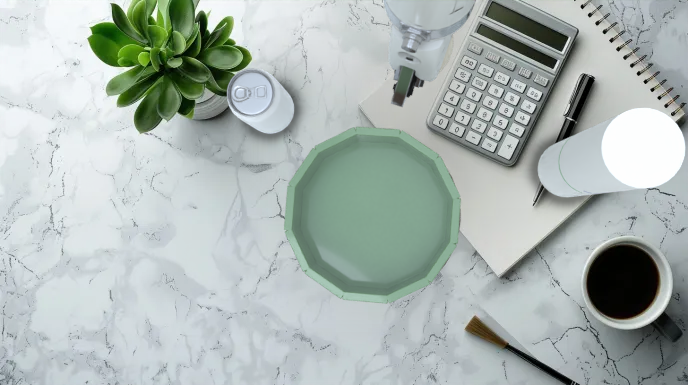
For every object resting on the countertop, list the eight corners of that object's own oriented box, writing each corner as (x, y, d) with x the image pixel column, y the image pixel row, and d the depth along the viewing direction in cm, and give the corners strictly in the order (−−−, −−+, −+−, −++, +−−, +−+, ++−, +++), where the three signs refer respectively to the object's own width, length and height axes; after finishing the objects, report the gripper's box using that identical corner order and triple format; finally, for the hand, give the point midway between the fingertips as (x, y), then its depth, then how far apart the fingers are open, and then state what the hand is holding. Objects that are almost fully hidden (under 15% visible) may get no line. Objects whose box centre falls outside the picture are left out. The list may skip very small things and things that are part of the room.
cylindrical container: (588, 201, 79) (678, 194, 54) (532, 192, 79) (595, 180, 54) (597, 147, 79) (691, 114, 54) (541, 138, 80) (608, 101, 55)
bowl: (410, 109, 57) (412, 98, 52) (481, 252, 56) (490, 256, 51) (269, 178, 58) (257, 174, 53) (336, 320, 57) (330, 331, 52)
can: (246, 88, 83) (221, 67, 71) (293, 84, 82) (276, 62, 71) (249, 136, 83) (224, 122, 71) (296, 132, 82) (280, 118, 70)
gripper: (438, 107, 49) (427, 132, 67) (510, -100, 49) (481, -20, 66) (350, 78, 50) (362, 110, 67) (421, -127, 50) (415, -41, 67)
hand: (421, 45), depth 67 cm, fingers closed on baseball, 7 cm apart
